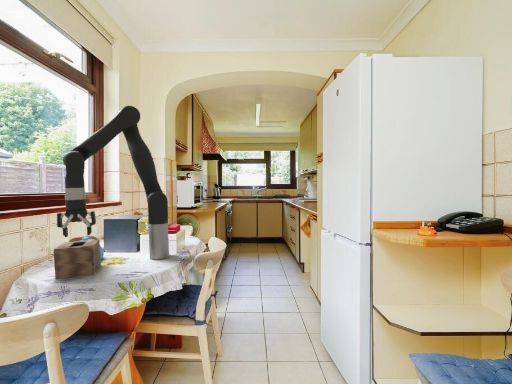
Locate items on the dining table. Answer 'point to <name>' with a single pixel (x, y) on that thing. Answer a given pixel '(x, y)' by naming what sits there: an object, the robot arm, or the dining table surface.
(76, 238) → the tin
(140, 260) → the dining table surface
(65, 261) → the money box
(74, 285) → the dining table surface
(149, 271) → the dining table surface
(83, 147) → the robot arm
